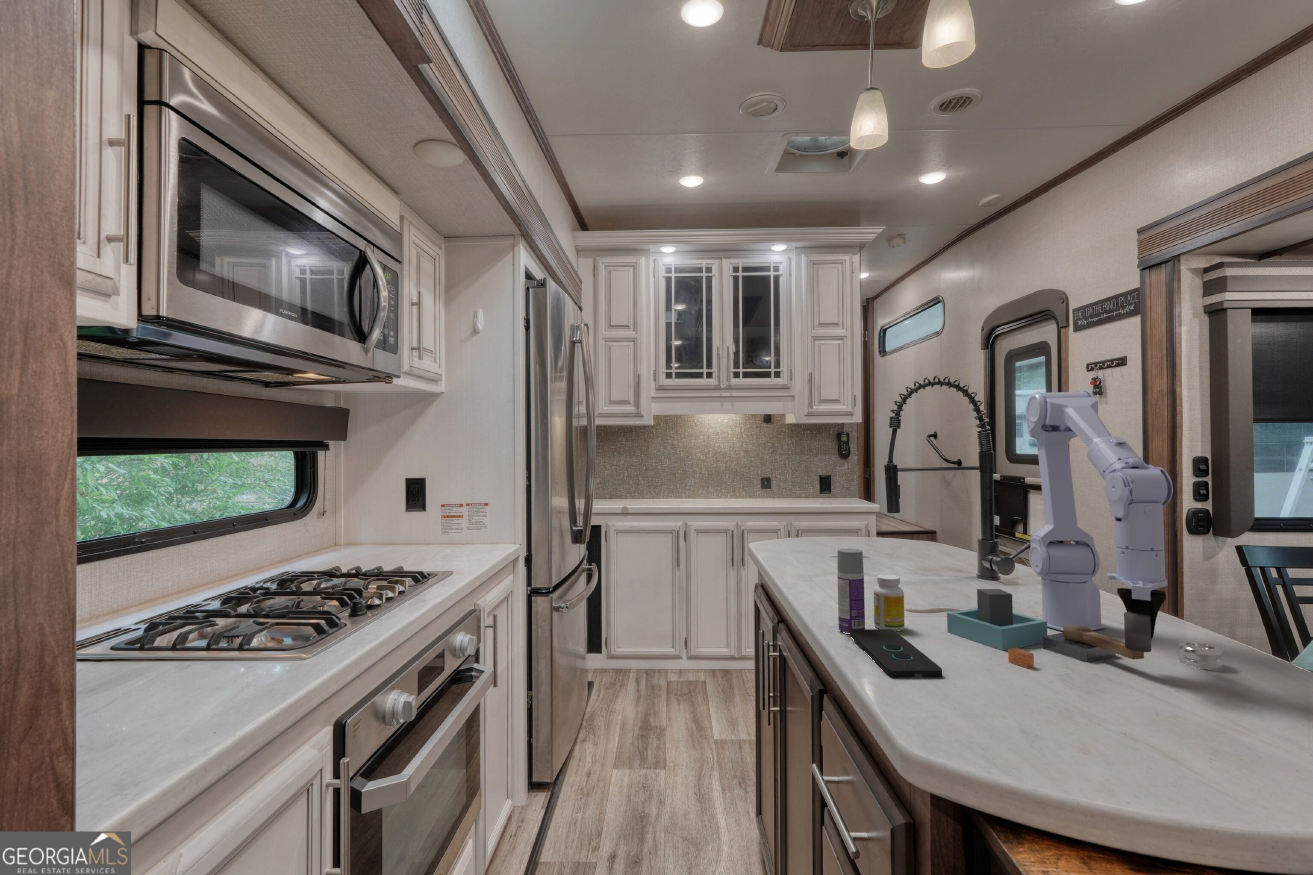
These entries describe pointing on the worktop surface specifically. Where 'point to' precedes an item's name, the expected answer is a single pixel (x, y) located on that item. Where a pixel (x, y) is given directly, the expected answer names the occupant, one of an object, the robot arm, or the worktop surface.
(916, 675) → the black flat panel
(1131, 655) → the crank lever
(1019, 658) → the wooden and grey pieces
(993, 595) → the block
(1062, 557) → the robot arm
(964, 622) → the tray
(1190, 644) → the metal wheel
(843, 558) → the container
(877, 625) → the supplement bottle
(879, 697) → the worktop surface
